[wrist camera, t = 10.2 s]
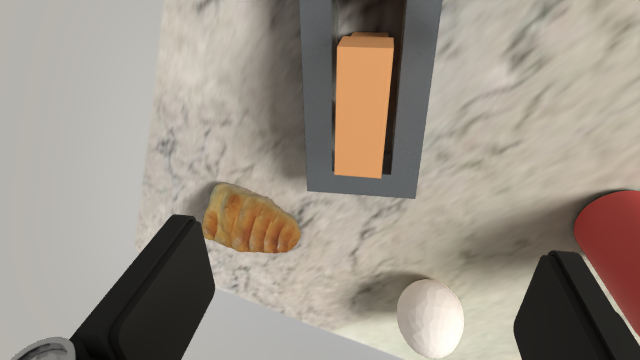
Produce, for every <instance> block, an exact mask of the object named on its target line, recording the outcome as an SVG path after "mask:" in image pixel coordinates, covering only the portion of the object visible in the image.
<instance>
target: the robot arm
mask: <svg viewBox="0 0 640 360" xmlns="http://www.w3.org/2000/svg"><path fill="white" fill-rule="evenodd" d="M214 292H215V283H214V279H213V274H212V270H211V266H210V261H209V257H208V253H207V248H206V244H205V239H204V235H203V231H202V226H201V223H200V222H198V221H196V219H195V218H194V217H193V216H187V215H176V214H174V215H172V216H171V217H170V218H169V219H168V220H167V221H166V223H165V224H164V225H163V226H162V228H161V229H160V230H159V231H158V232H157V234H156V235H155V236H154V237H153V238H152V240H151V241H150V242H149V243H148V245H147V246H146V247H145V248H144V249H143V251H142V252H141V253H140V254H139V255H138V257H137V258H136V259H135V260H134V261H133V263H132V264H131V265H130V266H129V268H128V269H127V270H126V271H125V272H124V274H123V275H122V276H121V277H120V279H119V280H118V281H117V282H116V283H115V285H114V286H113V287H112V288H111V289H110V291H109V292H108V293H107V294H106V295H105V297H104V298H103V299H102V300H101V302H100V303H99V304H98V305H97V306H96V308H95V309H94V310H93V311H92V312H91V314H90V315H89V316H88V317H87V318H86V320H85V321H84V322H83V323H82V325H81V326H80V327H79V328H78V329H77V331H76V332H75V333H74V334H73V336H72V337H71V338H70V339H69V340H68V339H66V338H62V337H52V338H47V339H44V340H40V341H37V342H35V343H33V344H31V345H29V346H27V347H26V348H24V349H23V350H21V351H20V352H19V353H17V354H16V355H15V356H14V357H13V358H12V359H11V360H181V359H182V357H183V355H184V353H185V351H186V349H187V347H188V345H189V343H190V341H191V339H192V337H193V335H194V333H195V331H196V329H197V327H198V326H199V323H200V322H201V320H202V318H203V316H204V314H205V312H206V310H207V308H208V306H209V304H210V302H211V300H212V298H213V295H214ZM514 336H515V339H516V342H517V345H518V349H519V352H520V355H521V358H522V360H640V346H639V344H638V343H637V341H636V339H635V338H634V336H633V335H632V333H631V331H630V330H629V328H628V327H627V325H626V323H625V322H624V320H623V319H622V318H621V316H620V315H619V314H618V313H617V312H615V310H614V309H613V307H612V305H611V304H610V302H609V300H608V299H607V297H606V296H605V294H604V292H603V291H602V289H601V288H600V286H599V284H598V283H597V281H596V279H595V278H594V276H593V275H592V273H591V271H590V270H589V268H588V267H587V265H586V263H585V262H584V260H583V258H582V257H581V256H580V255H579V254H578V253H576V252H565V251H555V250H553V251H550V252H549V253H548V255H543V256H541V258H540V260H539V262H538V265H537V267H536V270H535V272H534V275H533V277H532V280H531V282H530V284H529V287H528V289H527V292H526V294H525V297H524V299H523V302H522V304H521V306H520V309H519V311H518V314H517V316H516V319H515V321H514Z"/></svg>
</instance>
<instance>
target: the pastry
mask: <svg viewBox="0 0 640 360" xmlns="http://www.w3.org/2000/svg"><path fill="white" fill-rule="evenodd" d="M202 231H203V235H204V237H205V238H206V239H208V240H214V241H216V242H218V243H220V244H222V245H224V246H226V247H230V248H233V249H235V250H236V251H239V252H262V253H280V252H284V253H285V252H287V251H289V250H291V249H293V247H294V246H295V245H296V244H297V243H298V241H299V239H300V237H301V232H300V228H299V225H298V222H297V221H296V219H295V218H294V217H293V216H292V215H290V214H288V213H286V212H284V211H283V210H282V209H281V208H280V207H279V206H277V205H276V204H275V203H274V202H273V201H272V200H271V199H269V198H268V197H262V196H261V195H259V194H257V193H254V192H252V191H250V190H248V189H245V188H242V187H240V186H237V185H234V184H228V183H219V184H217V185H216V186H215V187H214V190H213V191H212V194H211V196H210V199H209V204H208V207H207V209H206V211H205V215H204V218H203V222H202Z"/></svg>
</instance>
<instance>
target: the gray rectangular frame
mask: <svg viewBox="0 0 640 360" xmlns="http://www.w3.org/2000/svg"><path fill="white" fill-rule="evenodd" d="M441 7H442V0H405V3H404V14H403V26H402V37H401V48H400V59H399V70H398V81H397V92H396V104H395V115H394V126H393V137H392V148H391V154H385V153H384V154H383V164H382V174H381V178H369V177H357V176H344V175H334V174H335V126H336V79H337V46H338V0H299V10H300V32H301V55H302V78H303V101H304V124H305V147H306V169H307V191H313V192H327V193H341V194H355V195H369V196H383V197H396V198H410V199H415V197H416V189H417V182H418V175H419V168H420V160H421V153H422V146H423V139H424V131H425V124H426V117H427V109H428V102H429V95H430V88H431V80H432V73H433V66H434V58H435V51H436V44H437V37H438V29H439V22H440V15H441Z"/></svg>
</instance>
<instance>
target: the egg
mask: <svg viewBox="0 0 640 360" xmlns="http://www.w3.org/2000/svg"><path fill="white" fill-rule="evenodd" d="M397 321H398V325H399V329H400V331H401V333H402V335H403V337H404V338H405V340H406V342H407V343H408V345H409V346H410V347H411V348H412V349H413V350H414V351H415V352H417V353H418V354H420V355H422V356H424V357H426V358H432V359H437V358H442V357H445V356H447V355H448V354H450V353H451V352H452V351H453V350H454V349H455V347H456V346H457V345H458V343H459V340H460V338H461V335H462V332H463V328H464V316H463V310H462V307H461V304H460V301H459V300H458V298H457V297H456V295H455V294H454V292H453V291H452V290H451V289H450V288H448V287H447V286H446V285H444V284H442V283H440V282H438V281H435V280H429V279H423V280H419V281H415V282H414V283H412V284H410V285H409V286H408V287H407V288H406V289H405V290H404V291H403V292H402V294H401V295H400V297H399V300H398V304H397Z"/></svg>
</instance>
